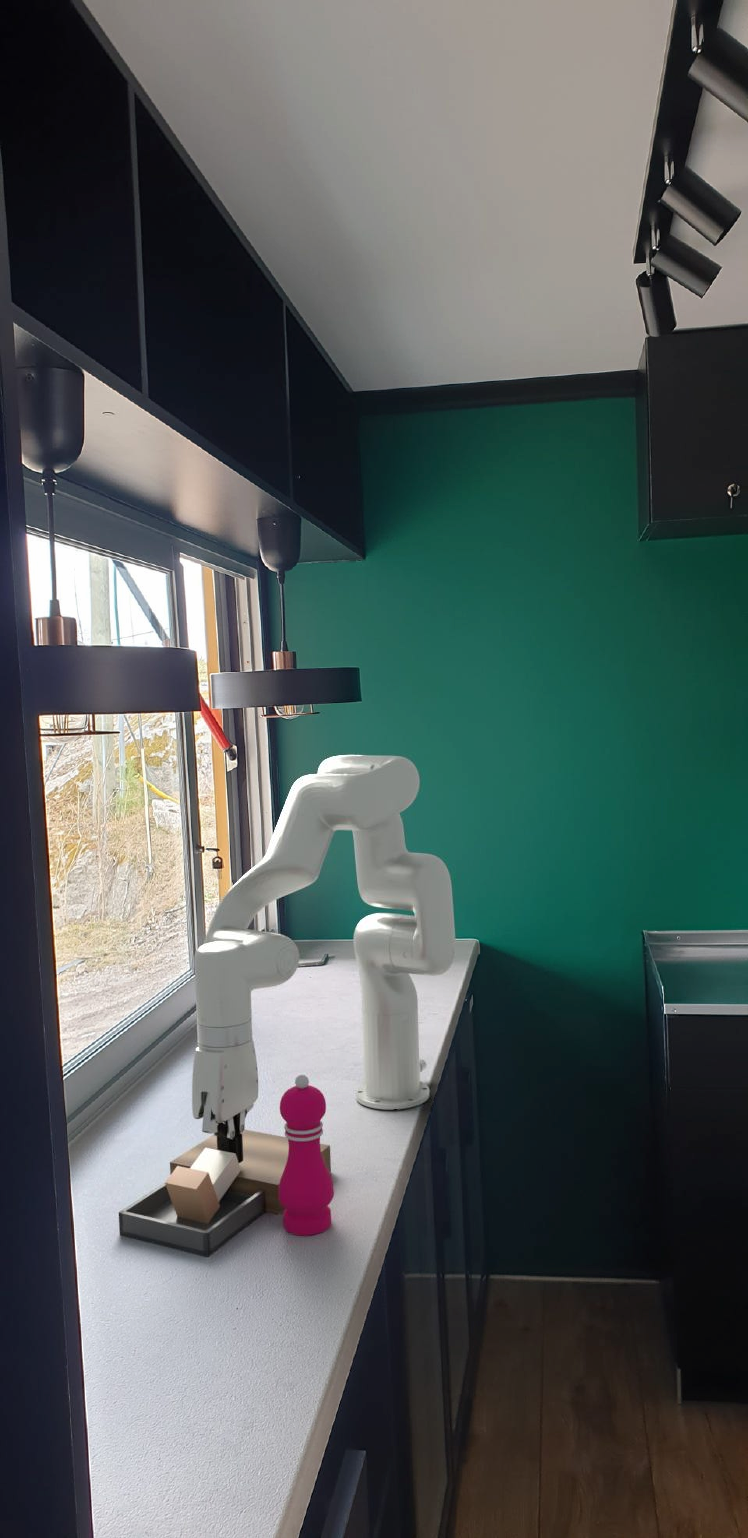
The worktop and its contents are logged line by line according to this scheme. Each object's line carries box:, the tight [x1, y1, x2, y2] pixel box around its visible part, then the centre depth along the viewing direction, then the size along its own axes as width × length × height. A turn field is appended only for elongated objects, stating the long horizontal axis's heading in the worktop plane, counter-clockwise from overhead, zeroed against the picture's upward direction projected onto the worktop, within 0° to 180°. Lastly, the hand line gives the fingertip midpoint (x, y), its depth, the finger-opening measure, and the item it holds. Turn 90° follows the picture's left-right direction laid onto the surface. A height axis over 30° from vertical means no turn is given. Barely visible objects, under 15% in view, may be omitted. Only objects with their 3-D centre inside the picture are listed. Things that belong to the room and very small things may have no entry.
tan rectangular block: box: [164, 1166, 220, 1224], centre depth 147 cm, size 6×5×3 cm
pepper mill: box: [279, 1074, 335, 1237], centre depth 145 cm, size 7×7×20 cm
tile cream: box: [190, 1148, 241, 1202], centre depth 151 cm, size 6×5×3 cm
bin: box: [118, 1182, 266, 1258], centre depth 147 cm, size 13×14×3 cm
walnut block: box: [169, 1129, 332, 1215], centre depth 159 cm, size 14×18×4 cm
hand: (230, 1161), depth 155 cm, fingers closed
